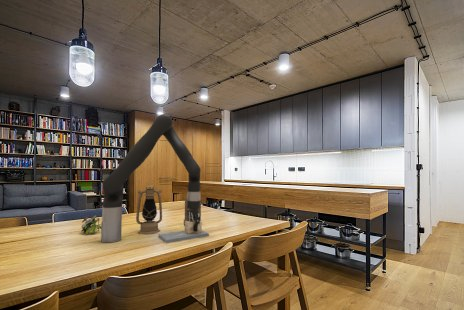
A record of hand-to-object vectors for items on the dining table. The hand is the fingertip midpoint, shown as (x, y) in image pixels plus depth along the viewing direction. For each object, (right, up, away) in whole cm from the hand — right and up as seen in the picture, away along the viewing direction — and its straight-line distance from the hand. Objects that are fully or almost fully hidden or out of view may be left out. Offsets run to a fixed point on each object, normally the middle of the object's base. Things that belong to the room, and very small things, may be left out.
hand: (193, 230), depth 136 cm
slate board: (-5, -3, -3) cm, 6 cm away
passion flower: (-60, -3, +5) cm, 60 cm away
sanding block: (0, -1, 0) cm, 1 cm away
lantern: (-27, -3, +7) cm, 28 cm away
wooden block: (-5, -5, +26) cm, 26 cm away
